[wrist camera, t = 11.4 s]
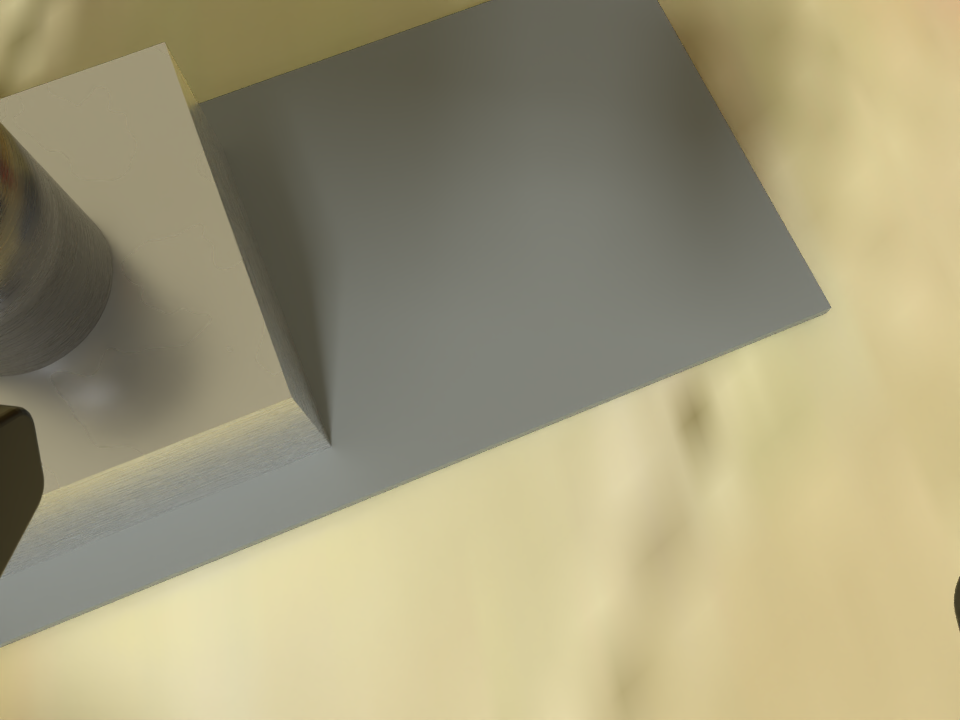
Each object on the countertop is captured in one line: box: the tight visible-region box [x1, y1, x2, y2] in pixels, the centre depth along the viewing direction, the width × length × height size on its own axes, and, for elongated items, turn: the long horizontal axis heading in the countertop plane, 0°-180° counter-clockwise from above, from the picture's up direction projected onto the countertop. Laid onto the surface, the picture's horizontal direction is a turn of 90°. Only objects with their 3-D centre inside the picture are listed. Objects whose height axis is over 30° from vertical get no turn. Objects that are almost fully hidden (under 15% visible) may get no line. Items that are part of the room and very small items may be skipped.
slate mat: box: [0, 0, 831, 647], centre depth 24 cm, size 23×12×1 cm, turn 112°
